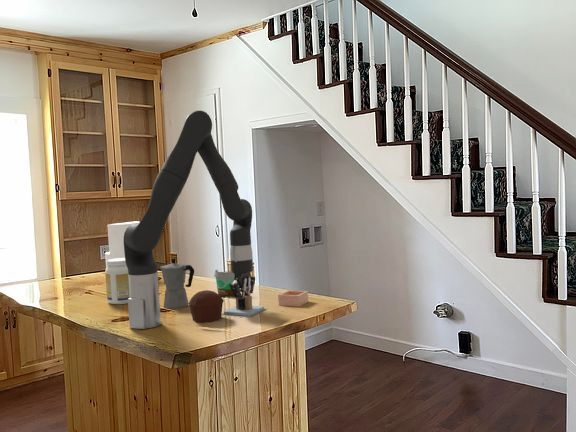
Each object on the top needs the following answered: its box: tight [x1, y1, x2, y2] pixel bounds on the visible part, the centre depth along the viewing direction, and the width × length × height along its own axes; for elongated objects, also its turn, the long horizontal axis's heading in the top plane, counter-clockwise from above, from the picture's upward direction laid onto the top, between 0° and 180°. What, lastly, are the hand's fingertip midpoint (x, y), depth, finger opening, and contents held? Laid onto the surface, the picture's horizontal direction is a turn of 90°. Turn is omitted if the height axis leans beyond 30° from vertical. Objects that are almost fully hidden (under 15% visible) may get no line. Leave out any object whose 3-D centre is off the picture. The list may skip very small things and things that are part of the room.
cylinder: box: [104, 220, 140, 269], centre depth 270 cm, size 17×17×28 cm
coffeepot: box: [158, 257, 195, 310], centre depth 205 cm, size 15×9×18 cm, turn 66°
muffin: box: [188, 289, 225, 324], centre depth 181 cm, size 12×11×10 cm
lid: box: [223, 295, 265, 317], centre depth 188 cm, size 10×10×5 cm
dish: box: [277, 290, 309, 308], centre depth 198 cm, size 8×8×4 cm
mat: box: [221, 308, 268, 318], centre depth 188 cm, size 12×12×1 cm
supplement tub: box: [104, 258, 130, 305], centre depth 219 cm, size 12×12×17 cm
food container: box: [213, 269, 241, 298], centre depth 220 cm, size 12×6×10 cm, turn 62°
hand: (244, 308), depth 188 cm, fingers open, 2 cm apart
